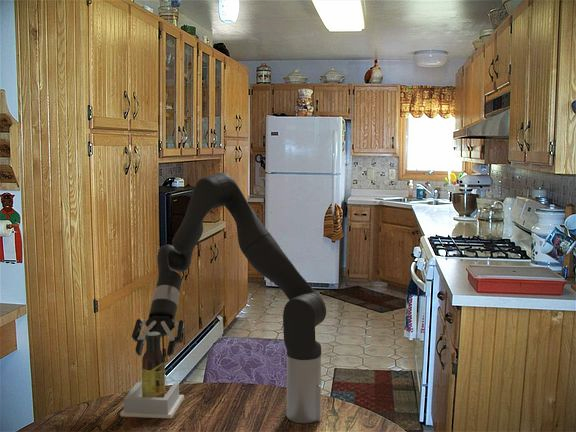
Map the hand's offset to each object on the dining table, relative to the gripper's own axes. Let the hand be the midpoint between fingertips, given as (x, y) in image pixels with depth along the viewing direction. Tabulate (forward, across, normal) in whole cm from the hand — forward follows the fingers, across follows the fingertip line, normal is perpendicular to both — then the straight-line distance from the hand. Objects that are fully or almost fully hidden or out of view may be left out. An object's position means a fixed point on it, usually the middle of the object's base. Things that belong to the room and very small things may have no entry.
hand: (153, 354), depth 163 cm
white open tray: (+11, 0, +9) cm, 15 cm away
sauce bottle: (+11, 0, +9) cm, 14 cm away
